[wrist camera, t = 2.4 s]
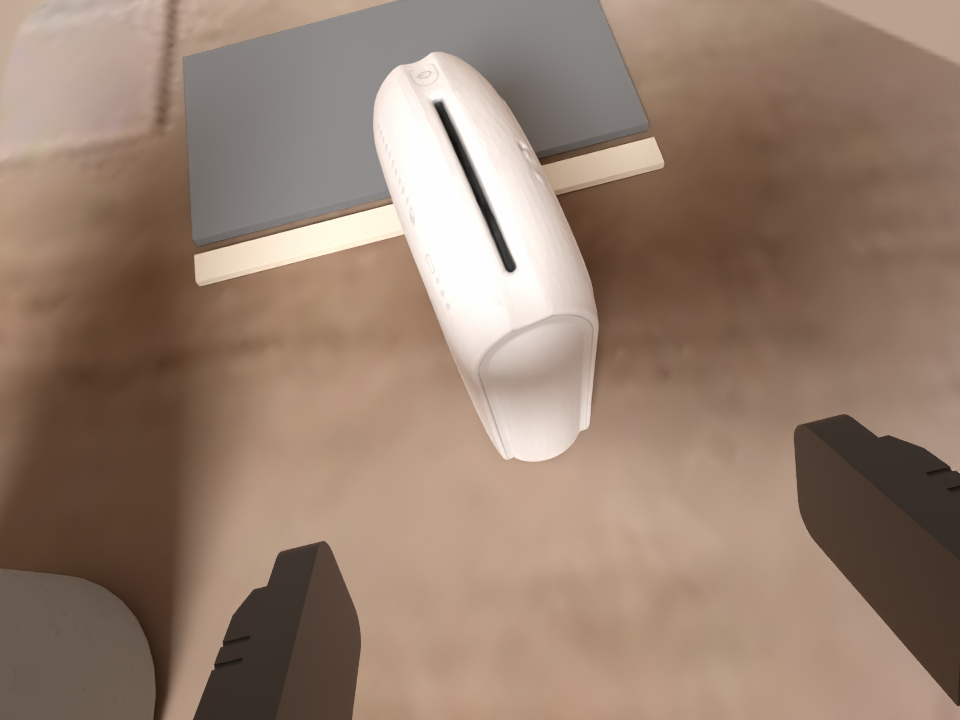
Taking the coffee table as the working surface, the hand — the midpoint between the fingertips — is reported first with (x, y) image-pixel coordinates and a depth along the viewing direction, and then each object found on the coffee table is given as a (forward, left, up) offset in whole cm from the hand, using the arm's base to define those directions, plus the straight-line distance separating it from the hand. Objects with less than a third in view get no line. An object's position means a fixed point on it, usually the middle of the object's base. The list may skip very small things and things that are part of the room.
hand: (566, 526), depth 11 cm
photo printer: (0, -9, -14) cm, 17 cm away
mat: (+2, -24, -14) cm, 27 cm away
